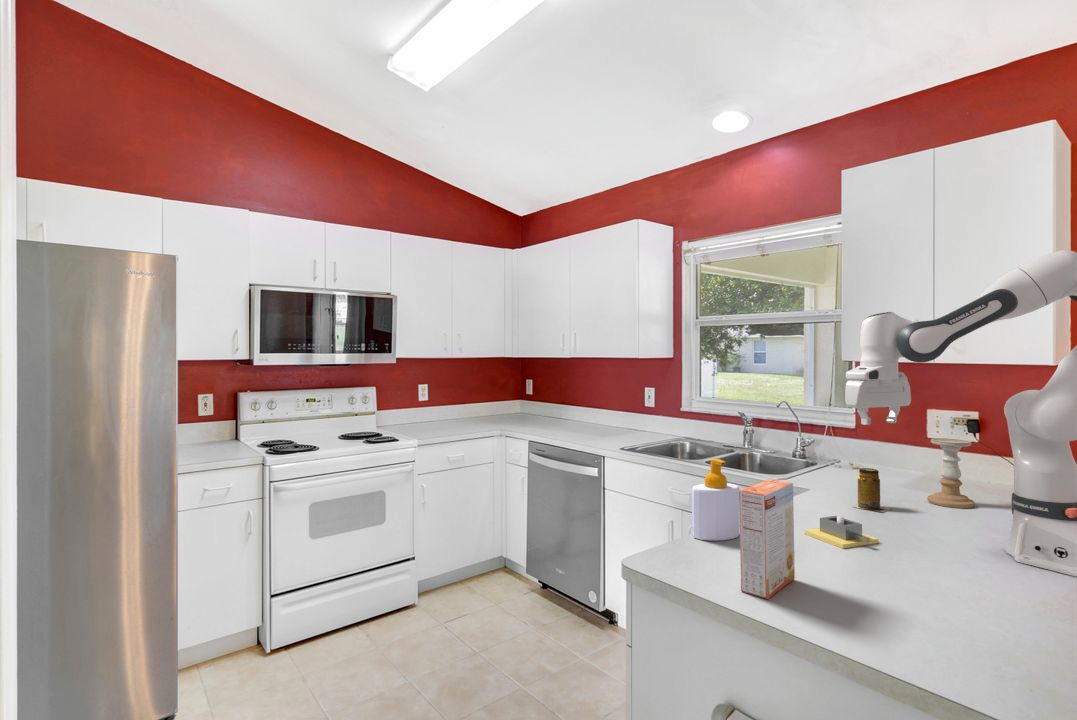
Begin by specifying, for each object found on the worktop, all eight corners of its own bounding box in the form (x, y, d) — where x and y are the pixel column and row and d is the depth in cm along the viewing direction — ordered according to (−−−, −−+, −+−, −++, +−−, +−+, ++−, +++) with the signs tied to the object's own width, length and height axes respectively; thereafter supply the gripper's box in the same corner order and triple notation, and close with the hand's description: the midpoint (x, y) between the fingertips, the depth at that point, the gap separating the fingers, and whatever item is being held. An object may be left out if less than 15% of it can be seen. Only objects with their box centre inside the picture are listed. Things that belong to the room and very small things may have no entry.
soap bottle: (702, 543, 141) (702, 464, 141) (685, 533, 149) (685, 458, 148) (747, 538, 144) (746, 461, 144) (728, 529, 152) (728, 455, 152)
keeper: (878, 542, 140) (878, 521, 140) (842, 548, 136) (842, 526, 136) (838, 528, 151) (838, 508, 151) (804, 533, 147) (804, 513, 147)
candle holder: (978, 510, 168) (978, 444, 168) (928, 505, 174) (928, 441, 174) (972, 501, 178) (972, 439, 178) (925, 496, 185) (925, 436, 185)
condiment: (861, 503, 177) (861, 466, 177) (891, 509, 171) (891, 470, 171) (852, 507, 173) (852, 469, 173) (882, 513, 166) (882, 473, 166)
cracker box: (767, 572, 122) (767, 477, 122) (795, 580, 117) (795, 482, 117) (738, 591, 112) (737, 488, 112) (767, 600, 108) (767, 494, 108)
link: (876, 542, 137) (876, 528, 137) (859, 545, 135) (859, 531, 135) (835, 528, 149) (835, 515, 149) (819, 531, 147) (819, 517, 147)
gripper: (895, 371, 156) (895, 420, 156) (840, 372, 149) (840, 424, 149) (917, 372, 150) (917, 423, 150) (861, 373, 143) (861, 426, 143)
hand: (878, 423), depth 150 cm, fingers open, 8 cm apart
